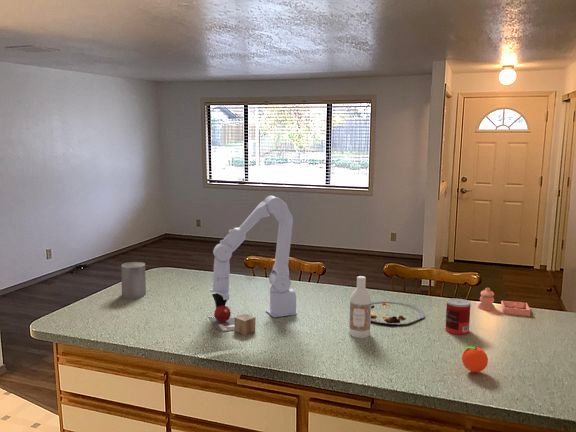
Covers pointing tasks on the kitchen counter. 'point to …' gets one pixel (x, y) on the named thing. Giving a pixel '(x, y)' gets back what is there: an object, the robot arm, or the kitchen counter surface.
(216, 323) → the letter mat
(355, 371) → the kitchen counter surface
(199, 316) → the kitchen counter surface
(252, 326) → the walnut block
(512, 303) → the pottery
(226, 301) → the robot arm
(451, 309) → the canned food
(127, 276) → the pillar candle
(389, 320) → the food plate
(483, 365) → the clementine
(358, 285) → the bath foam
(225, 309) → the onion
